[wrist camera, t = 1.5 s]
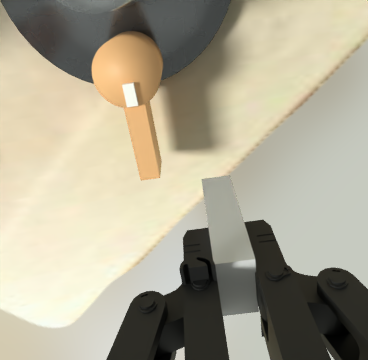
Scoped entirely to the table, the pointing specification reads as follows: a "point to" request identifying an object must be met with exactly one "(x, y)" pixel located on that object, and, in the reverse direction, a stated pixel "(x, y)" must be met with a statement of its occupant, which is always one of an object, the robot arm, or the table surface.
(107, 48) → the knob
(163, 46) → the base
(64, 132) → the table surface
